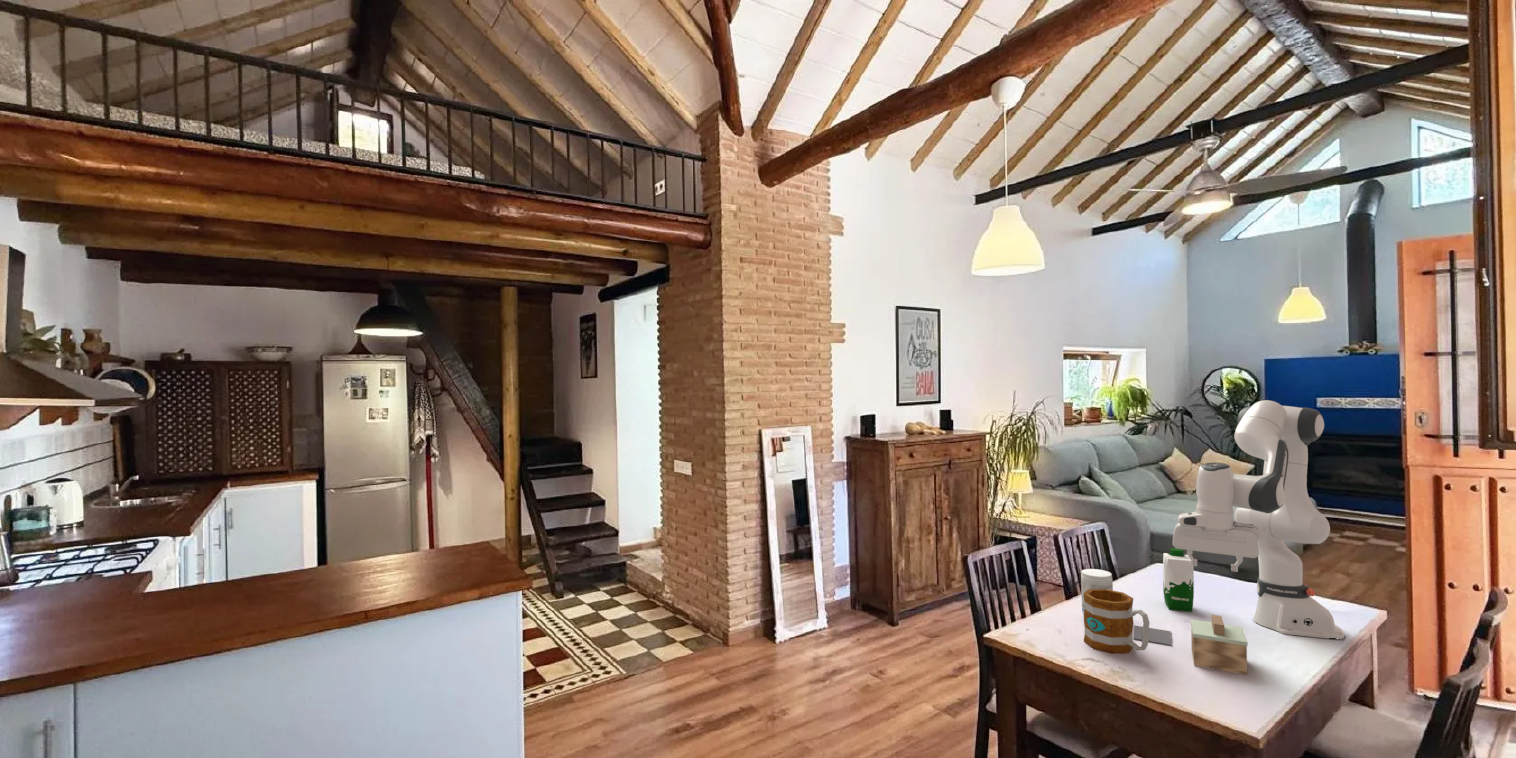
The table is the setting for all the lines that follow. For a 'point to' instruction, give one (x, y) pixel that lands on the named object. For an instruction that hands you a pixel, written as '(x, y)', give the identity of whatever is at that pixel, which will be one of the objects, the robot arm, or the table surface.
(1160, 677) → the table surface
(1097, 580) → the supplement tub
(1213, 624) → the lid
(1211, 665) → the crate
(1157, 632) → the mat
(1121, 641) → the mug
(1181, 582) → the milk carton
